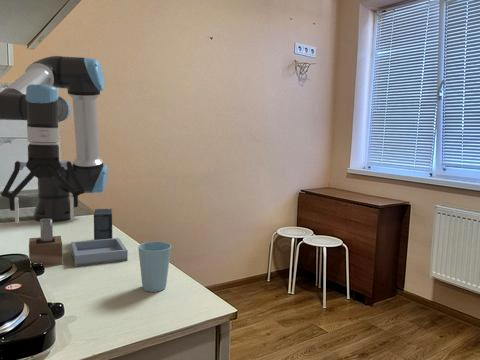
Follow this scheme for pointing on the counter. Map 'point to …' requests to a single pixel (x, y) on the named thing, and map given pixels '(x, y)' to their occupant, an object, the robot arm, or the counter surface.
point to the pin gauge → (46, 230)
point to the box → (102, 224)
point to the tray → (98, 251)
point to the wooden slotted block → (45, 251)
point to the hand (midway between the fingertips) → (45, 220)
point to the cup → (154, 265)
